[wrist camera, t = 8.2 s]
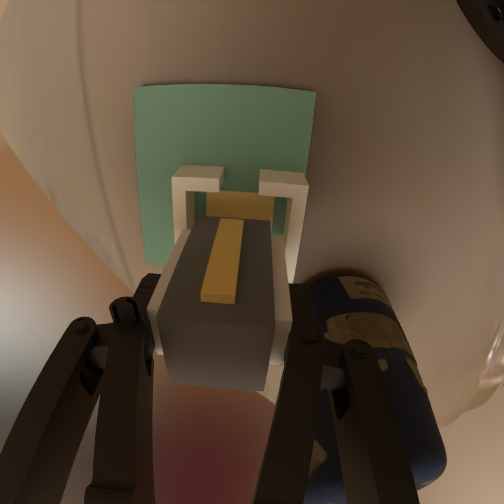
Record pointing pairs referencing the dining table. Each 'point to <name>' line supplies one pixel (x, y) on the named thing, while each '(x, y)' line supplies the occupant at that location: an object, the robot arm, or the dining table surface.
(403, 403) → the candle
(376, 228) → the dining table surface
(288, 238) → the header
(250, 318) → the plug
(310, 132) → the board
